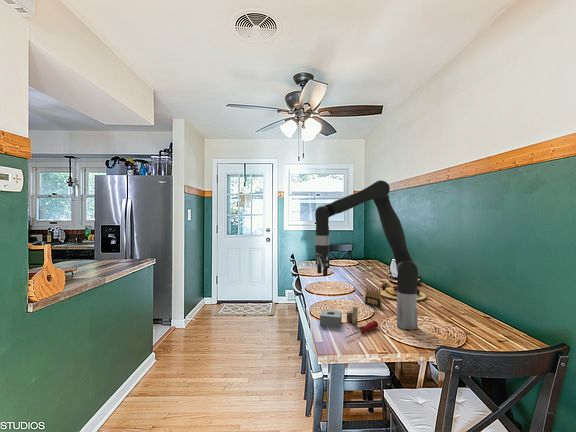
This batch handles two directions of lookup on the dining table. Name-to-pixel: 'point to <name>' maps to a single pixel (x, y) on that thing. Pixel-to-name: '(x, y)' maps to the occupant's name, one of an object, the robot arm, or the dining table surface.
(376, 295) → the ammunition clip
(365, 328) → the screwdriver
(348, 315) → the walnut stub
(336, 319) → the block
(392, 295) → the wooden plate with food
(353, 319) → the birch dowel
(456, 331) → the dining table surface
